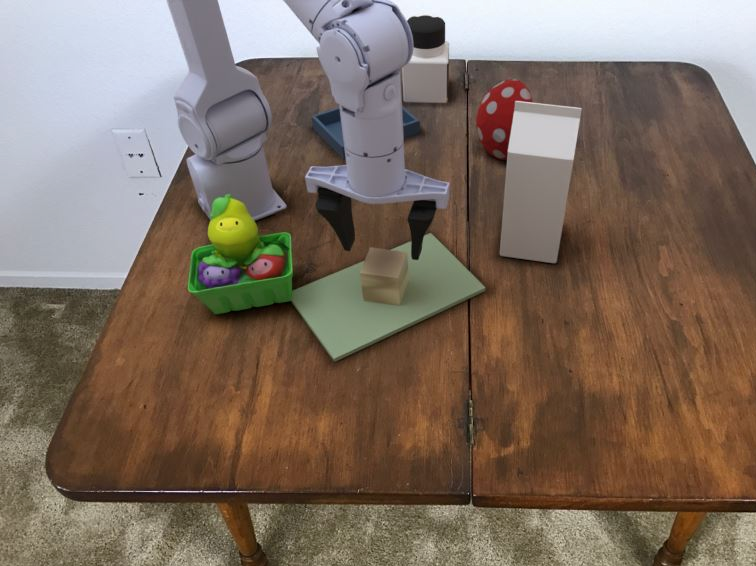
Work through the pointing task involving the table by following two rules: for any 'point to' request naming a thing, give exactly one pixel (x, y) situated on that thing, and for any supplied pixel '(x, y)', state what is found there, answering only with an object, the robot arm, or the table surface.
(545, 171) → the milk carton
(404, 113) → the tray
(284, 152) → the table surface
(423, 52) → the medicine bottle
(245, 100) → the robot arm
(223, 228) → the fruit basket
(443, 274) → the mat
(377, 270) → the block
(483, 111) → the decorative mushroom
